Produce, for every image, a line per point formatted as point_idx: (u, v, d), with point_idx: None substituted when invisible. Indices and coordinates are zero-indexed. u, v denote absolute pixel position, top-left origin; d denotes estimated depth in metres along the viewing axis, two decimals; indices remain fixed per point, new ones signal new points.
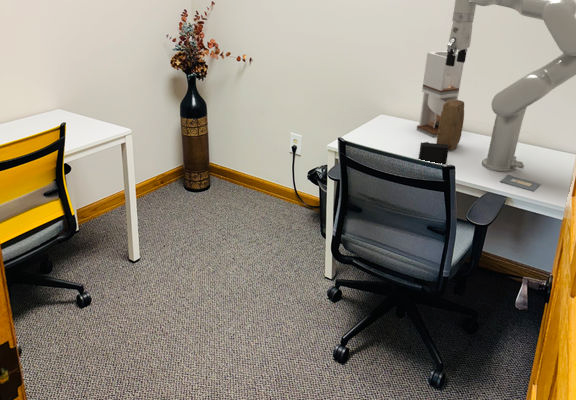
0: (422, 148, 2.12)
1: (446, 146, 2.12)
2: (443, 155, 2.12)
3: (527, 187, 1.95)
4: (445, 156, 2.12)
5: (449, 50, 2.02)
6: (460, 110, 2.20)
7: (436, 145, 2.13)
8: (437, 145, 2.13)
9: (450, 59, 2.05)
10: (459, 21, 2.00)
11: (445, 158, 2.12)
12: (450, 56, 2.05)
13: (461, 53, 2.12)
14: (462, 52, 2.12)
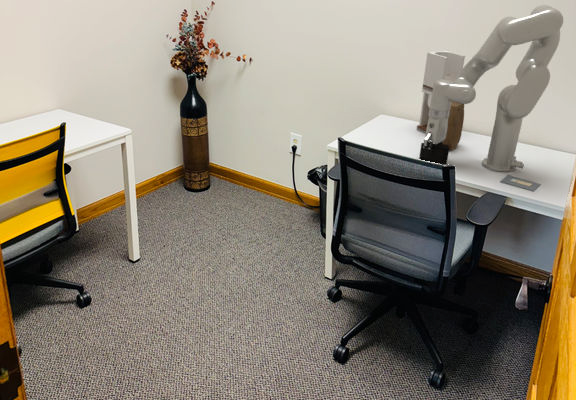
0: (422, 148, 2.12)
1: (447, 146, 2.12)
2: (443, 156, 2.12)
3: (527, 187, 1.95)
4: (446, 156, 2.12)
5: (425, 145, 2.07)
6: (460, 110, 2.20)
7: (437, 145, 2.12)
8: (438, 145, 2.12)
9: (426, 152, 2.10)
10: (435, 117, 2.05)
11: (446, 158, 2.12)
12: (426, 149, 2.10)
13: (437, 143, 2.17)
14: (438, 143, 2.17)
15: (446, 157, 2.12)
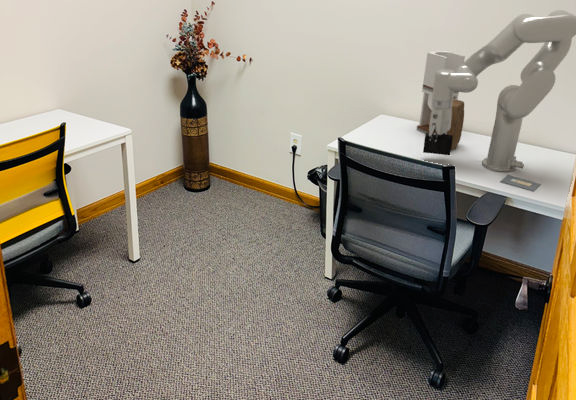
0: (425, 138, 2.11)
1: (450, 137, 2.10)
2: (447, 146, 2.10)
3: (527, 187, 1.95)
4: (449, 147, 2.10)
5: (431, 138, 2.07)
6: (460, 110, 2.20)
7: (440, 135, 2.11)
8: (441, 135, 2.11)
9: (433, 145, 2.10)
10: (438, 108, 2.04)
11: (449, 149, 2.10)
12: (433, 142, 2.09)
13: None
14: None
15: (449, 147, 2.10)
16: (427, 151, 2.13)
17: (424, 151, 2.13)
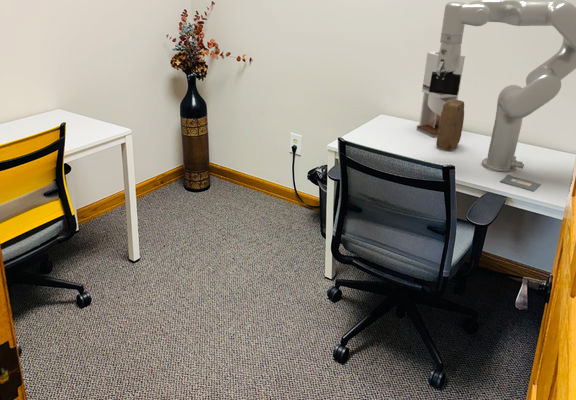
0: (432, 76, 2.00)
1: (458, 75, 1.99)
2: (454, 85, 2.00)
3: (527, 187, 1.95)
4: (456, 86, 1.99)
5: (439, 75, 1.97)
6: (460, 110, 2.20)
7: (448, 74, 2.00)
8: (449, 74, 2.00)
9: (440, 83, 1.99)
10: (447, 43, 1.93)
11: (456, 88, 2.00)
12: (440, 80, 1.99)
13: None
14: None
15: (457, 87, 2.00)
16: (433, 91, 2.02)
17: (430, 91, 2.03)
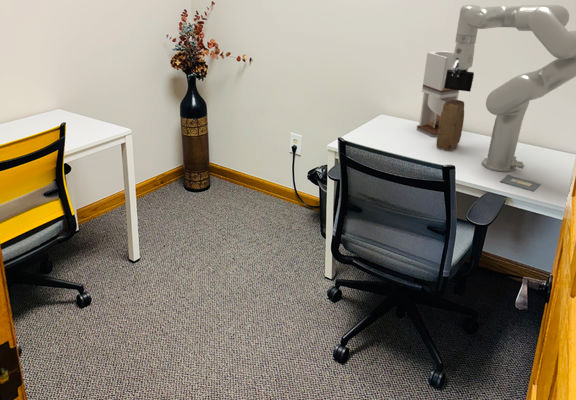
0: (447, 73, 2.16)
1: (472, 73, 2.15)
2: (467, 82, 2.15)
3: (527, 187, 1.95)
4: (470, 83, 2.15)
5: (454, 72, 2.12)
6: (460, 110, 2.20)
7: (462, 72, 2.16)
8: (463, 72, 2.16)
9: (455, 80, 2.15)
10: (462, 42, 2.09)
11: (470, 85, 2.15)
12: (455, 77, 2.15)
13: None
14: None
15: (470, 83, 2.15)
16: (448, 87, 2.18)
17: (445, 87, 2.18)
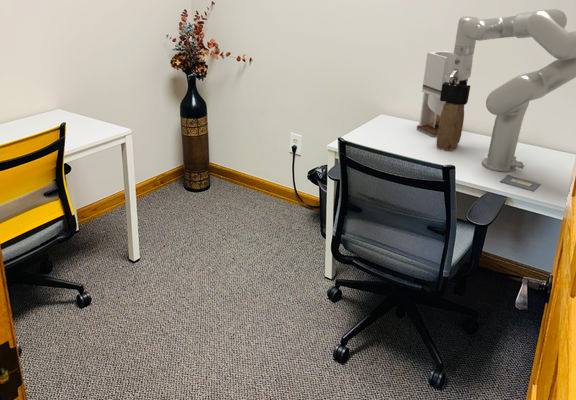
0: (443, 86, 2.19)
1: (467, 86, 2.16)
2: (462, 95, 2.17)
3: (527, 187, 1.95)
4: (465, 96, 2.16)
5: (451, 81, 2.13)
6: (460, 110, 2.20)
7: (458, 85, 2.18)
8: (459, 85, 2.18)
9: (452, 89, 2.15)
10: (460, 54, 2.11)
11: (465, 98, 2.17)
12: (452, 86, 2.15)
13: (462, 83, 2.22)
14: (463, 82, 2.22)
15: (465, 97, 2.16)
16: (444, 99, 2.21)
17: (441, 99, 2.21)
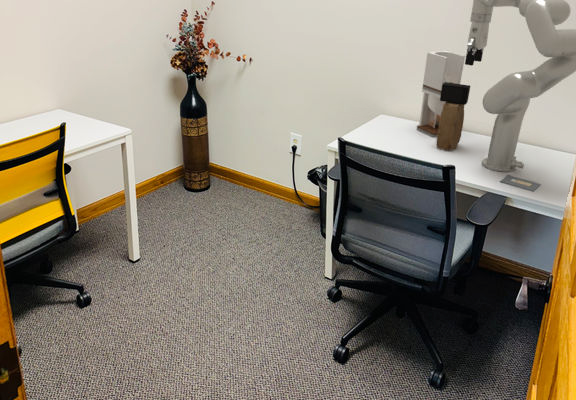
0: (443, 86, 2.19)
1: (467, 86, 2.16)
2: (462, 95, 2.17)
3: (527, 187, 1.95)
4: (465, 96, 2.16)
5: (469, 50, 2.09)
6: (460, 110, 2.20)
7: (458, 85, 2.18)
8: (459, 85, 2.18)
9: (469, 58, 2.11)
10: (478, 21, 2.07)
11: (465, 98, 2.17)
12: (469, 55, 2.11)
13: (478, 52, 2.19)
14: (479, 51, 2.19)
15: (465, 97, 2.16)
16: (444, 99, 2.21)
17: (441, 99, 2.21)
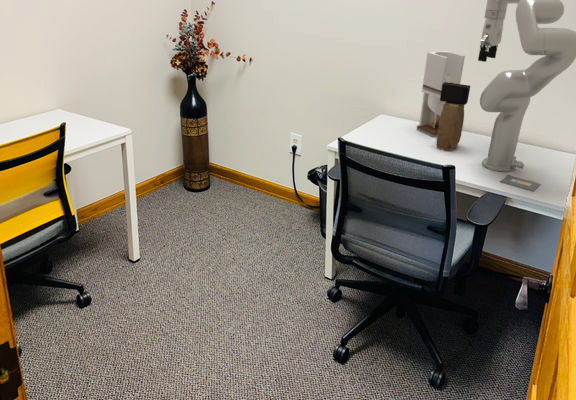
0: (443, 86, 2.19)
1: (467, 86, 2.16)
2: (462, 95, 2.17)
3: (527, 187, 1.95)
4: (465, 96, 2.16)
5: (482, 46, 2.10)
6: (460, 110, 2.20)
7: (458, 85, 2.18)
8: (459, 85, 2.18)
9: (483, 55, 2.13)
10: (492, 18, 2.09)
11: (465, 98, 2.17)
12: (483, 52, 2.13)
13: (492, 49, 2.20)
14: (493, 48, 2.20)
15: (465, 97, 2.16)
16: (444, 99, 2.21)
17: (441, 99, 2.21)
